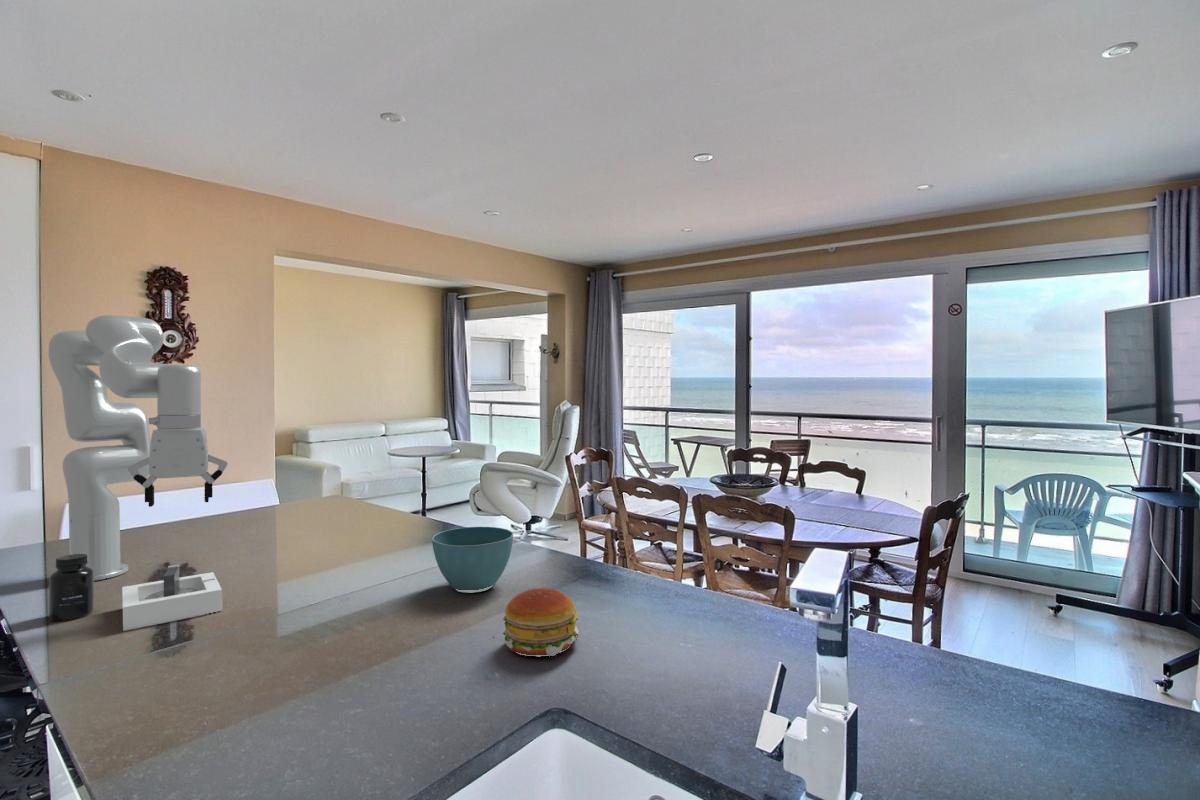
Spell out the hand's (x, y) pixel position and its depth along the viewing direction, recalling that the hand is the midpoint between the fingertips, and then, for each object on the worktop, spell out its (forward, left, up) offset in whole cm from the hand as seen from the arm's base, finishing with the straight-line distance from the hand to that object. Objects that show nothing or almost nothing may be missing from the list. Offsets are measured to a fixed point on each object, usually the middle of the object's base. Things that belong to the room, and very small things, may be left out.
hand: (179, 503), depth 127 cm
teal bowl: (+30, +53, -22) cm, 65 cm away
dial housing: (+3, -2, -22) cm, 22 cm away
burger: (+66, +48, -22) cm, 85 cm away
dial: (+3, -2, -20) cm, 20 cm away
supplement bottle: (-6, -18, -22) cm, 29 cm away
